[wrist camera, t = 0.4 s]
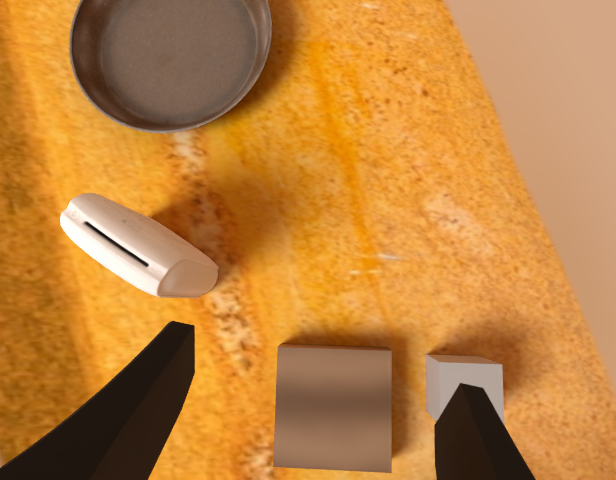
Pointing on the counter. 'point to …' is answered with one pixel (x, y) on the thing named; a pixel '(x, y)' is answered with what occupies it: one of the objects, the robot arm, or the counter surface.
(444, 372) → the grey cube
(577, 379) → the counter surface
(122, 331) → the counter surface
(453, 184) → the counter surface
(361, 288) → the counter surface
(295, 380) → the walnut slab
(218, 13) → the plant saucer
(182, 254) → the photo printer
